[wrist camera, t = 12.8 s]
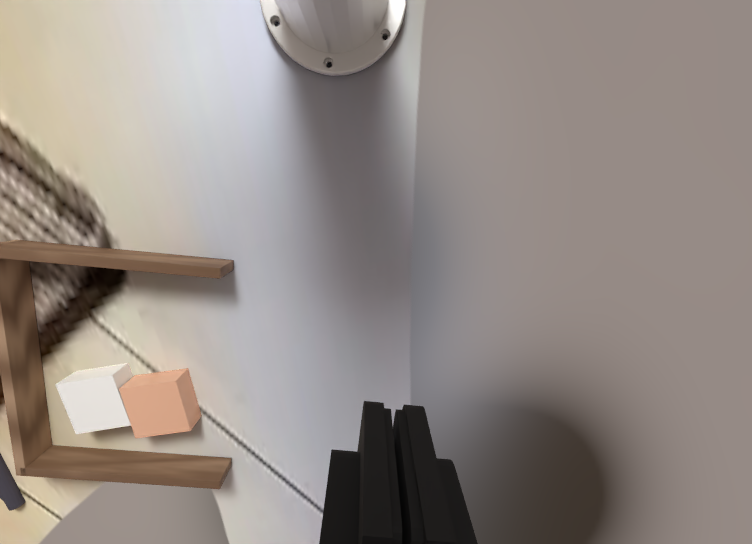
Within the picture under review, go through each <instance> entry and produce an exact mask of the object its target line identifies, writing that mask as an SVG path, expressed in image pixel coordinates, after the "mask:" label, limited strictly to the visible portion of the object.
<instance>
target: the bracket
mask: <svg viewBox="0 0 752 544" xmlns="http://www.w3.org/2000/svg"><path fill="white" fill-rule="evenodd" d="M0 498H1V499H2V500H3V501H4V502H5V504H6V506H7V508H8V509H9V510H14V509H16V508H18V507H20V506H21V505H22V504H24V503H25V500H24V498H23V496H22V494H21V492H20V490H19V488H18V486H17V484H16V482H15V480H14V479H13V477H12V475H11V473H10V471H9V469H8V467H7V465H6V463H5V461H4V459H3V458H2V456H1V454H0Z"/></svg>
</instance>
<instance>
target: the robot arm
mask: <svg viewBox="0 0 752 544" xmlns="http://www.w3.org/2000/svg"><path fill="white" fill-rule="evenodd" d="M406 1H407V0H260V4H261V8H262V12H263V16H264V18H265V21H266V23H267V26H268V28H269V30H270V32H271V33H272V35H273V37H274V38H275V40H276V41H277V43H278V44H279V45H280V47H281V48H282V49H283V51H284V52H285V53H286V54H288V55H289V56H290V57H291V58H292V59H293V60H294V61H295V62H297V63H298V64H300V65H302V66H303V67H305V68H306V69H309V70H311V71H314V72H317V73H319V74H325V75H331V76H337V75H348V74H352V73H356V72H359V71H361V70H363V69H365V68H367V67H369V66H371V65H372V64H373V63H375V62H376V61H377V60H379V59H380V58H381V57H382V56H383V55H384V54H385V53H386V51H387V50H388V49H389V48H390V47H391V45H392V43H393V42H394V40H395V38H396V37H397V35H398V32H399V30H400V27H401V24H402V22H403V18H404V13H405V9H406ZM276 22H279V23H280V25H279V26H277V27H275V23H276ZM384 35H386V36H387V37H388V39H387V40H383V38H382V37H383V36H384ZM328 63H331V64H332V67H331V68H328V67H327V64H328ZM319 544H477V540H476V537H475V534H474V530H473V527H472V523H471V520H470V517H469V513H468V510H467V507H466V503H465V500H464V496H463V493H462V490H461V487H460V483H459V480H458V476H457V473H456V470H455V466H454V464H453V462H452V461H451V460H448V459H437V458H436V454H435V451H434V446H433V442H432V438H431V434H430V429H429V426H428V421H427V417H426V413H425V409H424V407H423V406H413V405H404V406H403V409H402V410H397V409H396V412H395V417H394V424H393V427H392V416H391V409H386V408H384V403H380V402H369V401H364V404H363V412H362V420H361V428H360V436H359V444H358V452H354V451H342V450H332V451H331V459H330V466H329V474H328V482H327V489H326V497H325V505H324V512H323V520H322V528H321V535H320V543H319Z"/></svg>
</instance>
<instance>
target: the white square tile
mask: <svg viewBox="0 0 752 544" xmlns="http://www.w3.org/2000/svg"><path fill="white" fill-rule="evenodd" d="M132 377H133V374H132V371H131V368H130V365H129V363H124V364H117V365H111V366H105V367H99V368H93V369H86V370H80V371H75V372H73V373H72V374H70V375H69V376H67V377H66V378H64V379H63V380H61V381H60V382H58V383H57V384H55V385H56V387H57V390H58V392H59V394H60V397H61V399H62V402H63V404H64V406H65V409H66V411H67V414H68V416H69V418H70V421H71V423H72V426H73V428H74V430H75V433H76V434H80V433H87V432H93V431H99V430H106V429H112V428H118V427H125V426H131V423H130V420H129V418H128V415H127V412H126V409H125V406H124V403H123V400H122V397H121V394H120V391H119V388H120V387H121V386H123V385H124V384H125V383H126V382H127V381H129V380H130V379H131V378H132Z"/></svg>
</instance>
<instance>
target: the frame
mask: <svg viewBox="0 0 752 544" xmlns="http://www.w3.org/2000/svg"><path fill="white" fill-rule="evenodd" d="M29 261H35V262H46V263H57V264H68V265H79V266H90V267H100V268H111V269H122V270H133V271H144V272H155V273H165V274H176V275H187V276H198V277H209V278H222V277H223V276H225V275H226V274H228V273H229V272H231V271H232V270H233V261H234V260H225V259H215V258H204V257H193V256H183V255H172V254H162V253H151V252H141V251H130V250H119V249H109V248H98V247H88V246H77V245H67V244H56V243H45V242H35V241H24V240H12V241H6V242H0V373H1V379H2V385H3V392H4V398H5V405H6V411H7V418H8V424H9V430H10V437H11V443H12V450H13V456H14V463H15V469H16V475H20V476H34V477H49V478H64V479H79V480H93V481H108V482H123V483H138V484H152V485H168V486H182V487H197V488H211V489H220V488H221V486H222V484H223V482H224V480H225V478H226V475H227V473H228V471H229V469H230V467H231V458H223V457H209V456H195V455H181V454H167V453H153V452H139V451H125V450H111V449H97V448H83V447H69V446H55V445H52V441H51V433H50V425H49V417H48V409H47V401H46V393H45V385H44V377H43V369H42V361H41V353H40V345H39V337H38V329H37V321H36V313H35V305H34V297H33V289H32V281H31V273H30V265H29Z"/></svg>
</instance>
